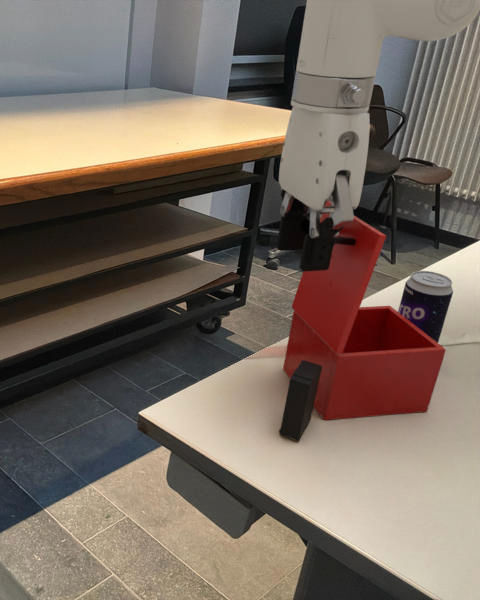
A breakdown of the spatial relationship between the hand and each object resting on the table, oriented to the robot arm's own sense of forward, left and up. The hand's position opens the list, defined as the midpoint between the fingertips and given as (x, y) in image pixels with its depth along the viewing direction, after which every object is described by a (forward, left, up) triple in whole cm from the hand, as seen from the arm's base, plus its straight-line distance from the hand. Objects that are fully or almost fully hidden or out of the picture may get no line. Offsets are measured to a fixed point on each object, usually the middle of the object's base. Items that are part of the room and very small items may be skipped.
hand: (301, 257), depth 76 cm
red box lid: (-5, 0, -2) cm, 5 cm away
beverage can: (-22, -6, -19) cm, 30 cm away
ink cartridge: (+1, +7, -19) cm, 20 cm away
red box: (-10, 0, -19) cm, 21 cm away
